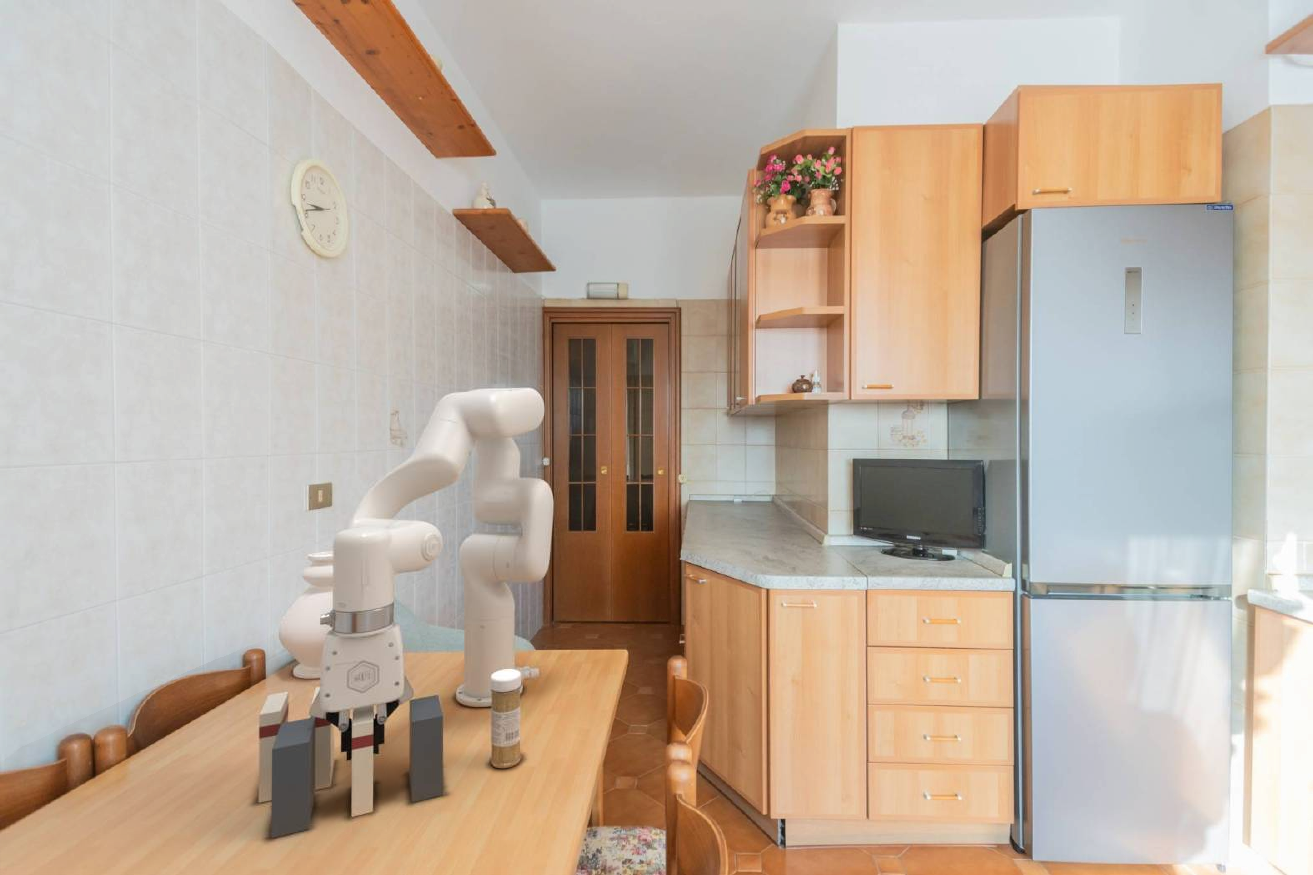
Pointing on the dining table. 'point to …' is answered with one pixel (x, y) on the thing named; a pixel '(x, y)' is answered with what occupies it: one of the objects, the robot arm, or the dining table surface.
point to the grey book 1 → (293, 777)
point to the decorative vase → (309, 617)
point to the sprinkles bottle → (505, 718)
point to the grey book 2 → (425, 748)
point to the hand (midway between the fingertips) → (363, 751)
